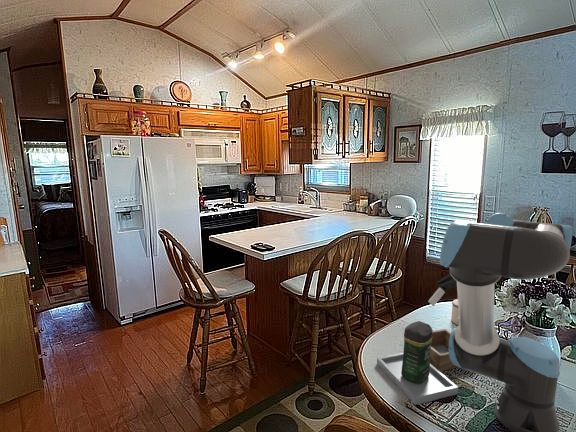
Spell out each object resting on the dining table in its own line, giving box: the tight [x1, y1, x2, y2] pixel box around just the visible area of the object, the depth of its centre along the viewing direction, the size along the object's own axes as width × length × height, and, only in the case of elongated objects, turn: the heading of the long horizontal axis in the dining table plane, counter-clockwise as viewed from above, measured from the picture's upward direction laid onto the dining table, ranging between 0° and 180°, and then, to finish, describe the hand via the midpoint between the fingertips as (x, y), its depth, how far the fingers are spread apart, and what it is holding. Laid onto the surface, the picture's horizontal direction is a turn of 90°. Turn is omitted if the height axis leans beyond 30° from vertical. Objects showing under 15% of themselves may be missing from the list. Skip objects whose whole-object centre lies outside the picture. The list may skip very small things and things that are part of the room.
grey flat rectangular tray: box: [376, 352, 459, 406], centre depth 120 cm, size 22×16×2 cm
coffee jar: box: [401, 320, 434, 384], centre depth 118 cm, size 10×8×19 cm
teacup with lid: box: [450, 298, 460, 326], centre depth 158 cm, size 12×9×12 cm
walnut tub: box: [430, 328, 459, 372], centre depth 132 cm, size 15×15×6 cm
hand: (444, 312), depth 119 cm, fingers open, 13 cm apart
